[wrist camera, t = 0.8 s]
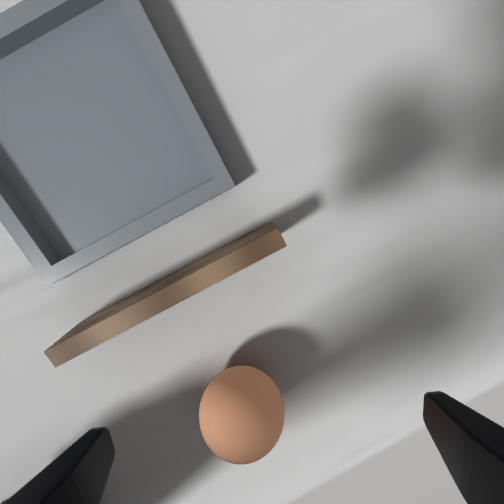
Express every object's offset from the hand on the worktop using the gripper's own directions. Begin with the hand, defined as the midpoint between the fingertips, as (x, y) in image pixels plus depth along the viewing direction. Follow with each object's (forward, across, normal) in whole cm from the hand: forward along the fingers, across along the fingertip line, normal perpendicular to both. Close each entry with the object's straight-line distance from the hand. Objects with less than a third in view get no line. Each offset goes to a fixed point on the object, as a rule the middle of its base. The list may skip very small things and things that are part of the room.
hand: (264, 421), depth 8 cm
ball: (+10, +2, +9) cm, 13 cm away
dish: (+13, +10, -10) cm, 19 cm away
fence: (+13, +6, 0) cm, 14 cm away
